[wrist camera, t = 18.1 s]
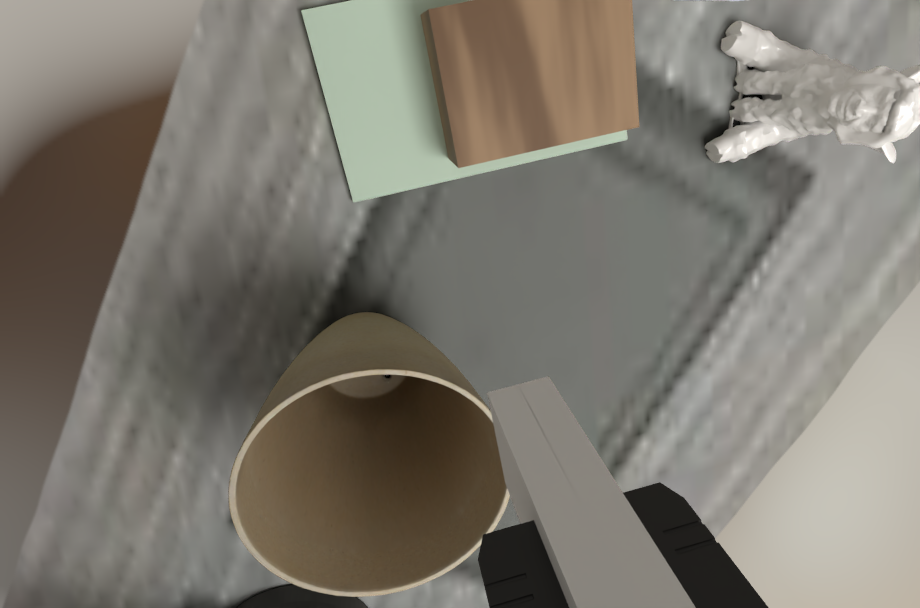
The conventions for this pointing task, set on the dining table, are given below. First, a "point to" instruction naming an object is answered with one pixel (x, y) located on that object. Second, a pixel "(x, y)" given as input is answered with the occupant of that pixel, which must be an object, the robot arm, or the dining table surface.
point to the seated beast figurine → (811, 98)
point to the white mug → (707, 0)
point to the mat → (392, 98)
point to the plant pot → (368, 464)
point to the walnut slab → (530, 74)
